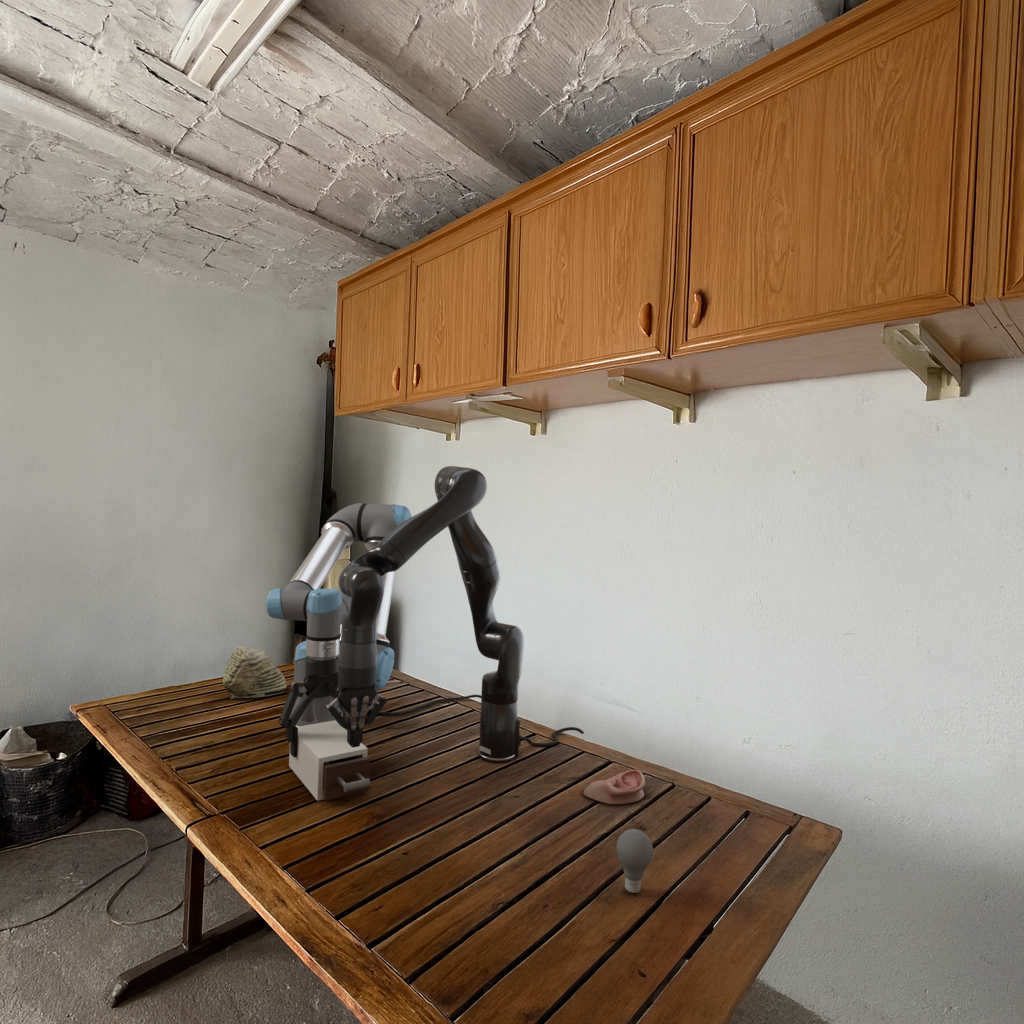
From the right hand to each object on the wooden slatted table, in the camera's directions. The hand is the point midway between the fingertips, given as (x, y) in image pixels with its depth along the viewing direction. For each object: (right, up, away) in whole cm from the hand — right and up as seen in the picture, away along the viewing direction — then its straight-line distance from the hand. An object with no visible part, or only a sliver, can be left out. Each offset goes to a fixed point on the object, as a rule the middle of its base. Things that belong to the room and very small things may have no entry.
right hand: (354, 745), depth 130 cm
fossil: (-48, -9, +68) cm, 84 cm away
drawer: (-6, -11, +8) cm, 15 cm away
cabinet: (-10, -12, +13) cm, 20 cm away
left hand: (-13, -7, +17) cm, 22 cm away
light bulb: (+53, -15, -25) cm, 60 cm away
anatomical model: (+55, -15, +11) cm, 58 cm away
